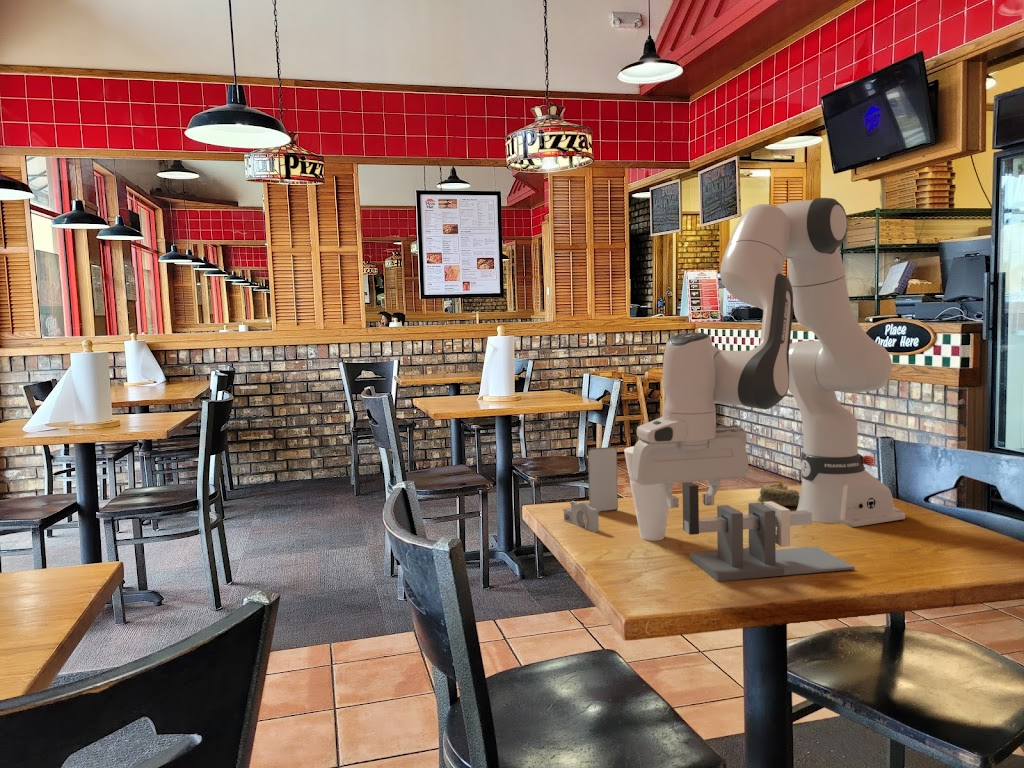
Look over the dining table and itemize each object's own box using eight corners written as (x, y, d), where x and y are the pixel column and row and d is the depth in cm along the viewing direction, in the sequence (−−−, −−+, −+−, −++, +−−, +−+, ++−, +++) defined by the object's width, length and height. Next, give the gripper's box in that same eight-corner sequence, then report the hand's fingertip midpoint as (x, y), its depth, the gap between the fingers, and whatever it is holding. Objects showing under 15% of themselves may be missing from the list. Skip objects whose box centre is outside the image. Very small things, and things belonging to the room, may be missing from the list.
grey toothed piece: (562, 522, 167) (562, 495, 166) (569, 520, 167) (568, 494, 167) (594, 534, 156) (593, 506, 156) (601, 533, 157) (600, 505, 156)
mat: (816, 548, 142) (816, 546, 142) (854, 569, 130) (854, 566, 130) (751, 554, 140) (751, 551, 140) (784, 575, 128) (784, 573, 128)
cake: (772, 510, 171) (772, 486, 170) (749, 500, 181) (749, 478, 180) (811, 506, 173) (811, 483, 173) (786, 496, 183) (786, 474, 182)
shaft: (804, 520, 136) (803, 474, 135) (813, 524, 133) (813, 477, 132) (683, 529, 133) (682, 482, 132) (690, 534, 129) (689, 486, 129)
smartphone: (590, 513, 172) (588, 449, 171) (589, 513, 173) (587, 448, 172) (618, 510, 174) (616, 446, 173) (617, 510, 175) (615, 446, 173)
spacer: (771, 535, 137) (771, 501, 136) (790, 545, 131) (789, 509, 130) (763, 536, 137) (763, 501, 136) (781, 546, 130) (781, 510, 130)
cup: (626, 529, 159) (624, 445, 157) (677, 530, 157) (676, 445, 155) (625, 544, 148) (623, 454, 147) (680, 545, 146) (679, 454, 145)
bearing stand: (751, 554, 140) (751, 498, 139) (784, 575, 128) (784, 515, 127) (690, 559, 138) (689, 503, 137) (717, 581, 126) (717, 520, 125)
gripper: (738, 421, 134) (738, 497, 135) (627, 428, 131) (629, 505, 132) (754, 426, 128) (755, 506, 129) (639, 433, 125) (641, 514, 126)
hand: (690, 506), depth 131 cm, fingers open, 5 cm apart
